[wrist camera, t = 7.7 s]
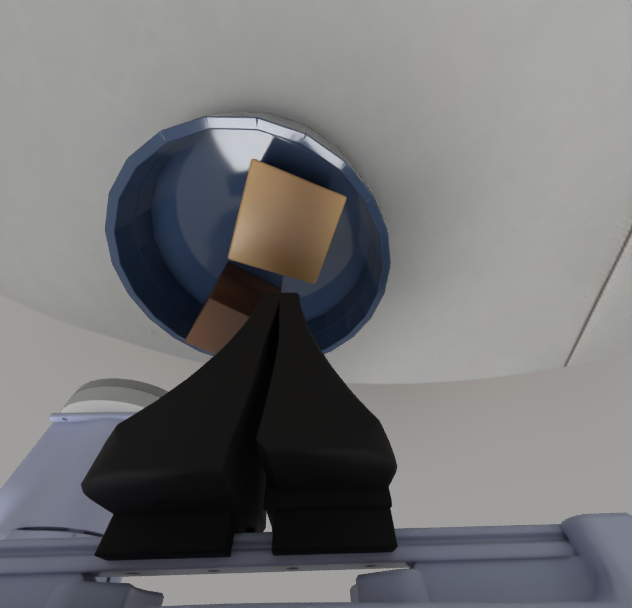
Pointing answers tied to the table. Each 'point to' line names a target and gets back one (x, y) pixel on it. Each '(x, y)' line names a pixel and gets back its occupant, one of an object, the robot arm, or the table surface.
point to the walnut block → (227, 308)
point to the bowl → (220, 219)
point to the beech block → (284, 223)
